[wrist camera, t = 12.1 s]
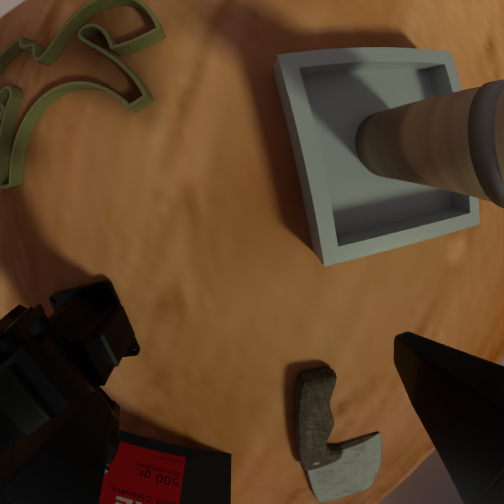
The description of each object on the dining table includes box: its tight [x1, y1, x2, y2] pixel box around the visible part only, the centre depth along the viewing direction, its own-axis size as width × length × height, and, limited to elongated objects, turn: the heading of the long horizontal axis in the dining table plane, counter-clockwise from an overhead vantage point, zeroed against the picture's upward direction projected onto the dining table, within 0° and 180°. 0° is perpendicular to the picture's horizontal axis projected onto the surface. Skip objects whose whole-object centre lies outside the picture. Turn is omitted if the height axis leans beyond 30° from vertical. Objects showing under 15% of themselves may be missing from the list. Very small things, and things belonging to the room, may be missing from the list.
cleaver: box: [294, 368, 382, 503], centre depth 27 cm, size 29×10×2 cm, turn 17°
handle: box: [355, 80, 504, 208], centre depth 11 cm, size 5×5×12 cm
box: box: [272, 47, 479, 267], centre depth 17 cm, size 12×12×3 cm
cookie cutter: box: [0, 0, 166, 190], centre depth 15 cm, size 18×12×2 cm, turn 109°
